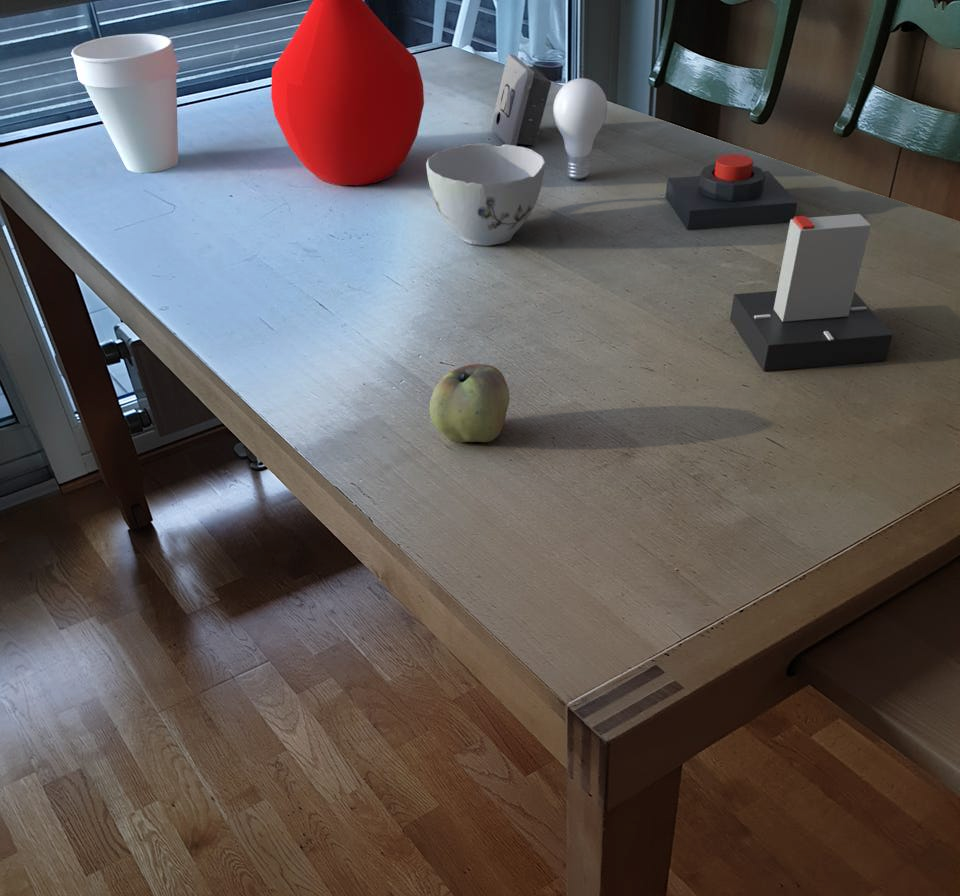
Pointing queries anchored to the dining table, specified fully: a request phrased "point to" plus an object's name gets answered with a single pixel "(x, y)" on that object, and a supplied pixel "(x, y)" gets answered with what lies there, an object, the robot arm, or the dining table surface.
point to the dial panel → (808, 335)
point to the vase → (347, 94)
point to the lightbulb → (579, 121)
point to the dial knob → (820, 266)
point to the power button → (733, 167)
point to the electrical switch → (520, 103)
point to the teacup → (485, 189)
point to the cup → (134, 96)
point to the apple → (470, 404)
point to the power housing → (729, 200)
